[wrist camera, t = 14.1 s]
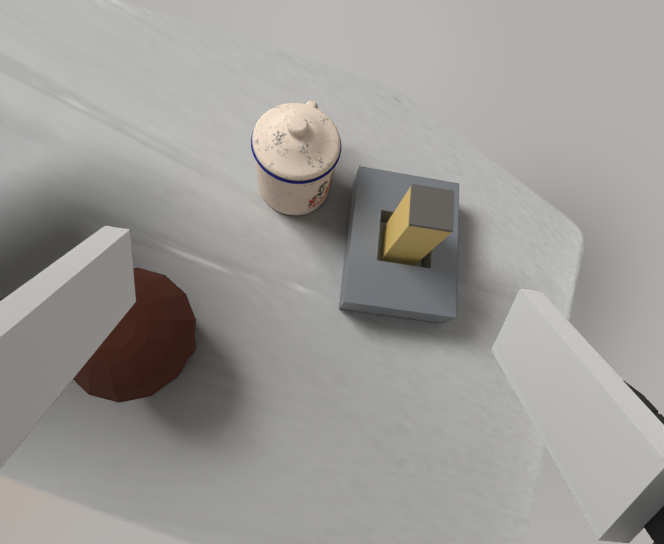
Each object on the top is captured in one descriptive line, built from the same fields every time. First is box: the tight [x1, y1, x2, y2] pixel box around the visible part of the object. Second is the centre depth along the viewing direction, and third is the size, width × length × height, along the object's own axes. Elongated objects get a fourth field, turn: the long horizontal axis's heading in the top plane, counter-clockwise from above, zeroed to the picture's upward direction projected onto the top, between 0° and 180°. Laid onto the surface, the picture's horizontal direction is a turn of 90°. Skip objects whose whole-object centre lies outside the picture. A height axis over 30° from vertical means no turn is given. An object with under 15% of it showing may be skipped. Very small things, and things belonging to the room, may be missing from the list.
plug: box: [380, 184, 454, 266], centre depth 40 cm, size 4×4×11 cm
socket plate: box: [339, 166, 459, 323], centre depth 44 cm, size 12×16×4 cm
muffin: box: [73, 268, 196, 402], centre depth 35 cm, size 12×11×10 cm
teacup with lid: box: [251, 101, 341, 215], centre depth 42 cm, size 12×9×12 cm
